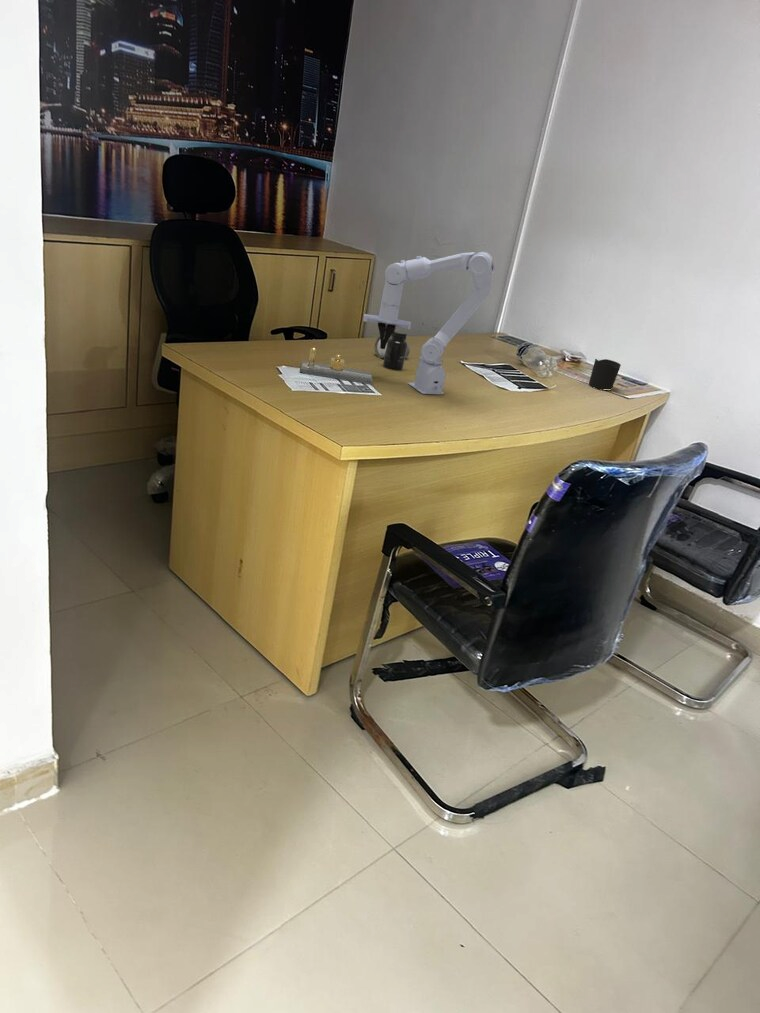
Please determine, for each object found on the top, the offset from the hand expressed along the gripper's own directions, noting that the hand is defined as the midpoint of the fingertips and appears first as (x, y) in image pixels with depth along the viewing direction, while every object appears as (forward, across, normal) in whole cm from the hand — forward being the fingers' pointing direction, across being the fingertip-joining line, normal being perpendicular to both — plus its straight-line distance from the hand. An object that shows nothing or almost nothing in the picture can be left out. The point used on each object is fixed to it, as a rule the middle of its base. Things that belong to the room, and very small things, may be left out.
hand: (382, 348), depth 225 cm
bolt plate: (+9, -13, -4) cm, 17 cm away
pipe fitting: (+10, +7, +29) cm, 31 cm away
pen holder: (+10, +87, +38) cm, 95 cm away
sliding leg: (+8, -13, -5) cm, 16 cm away
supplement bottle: (+10, +6, +16) cm, 19 cm away
